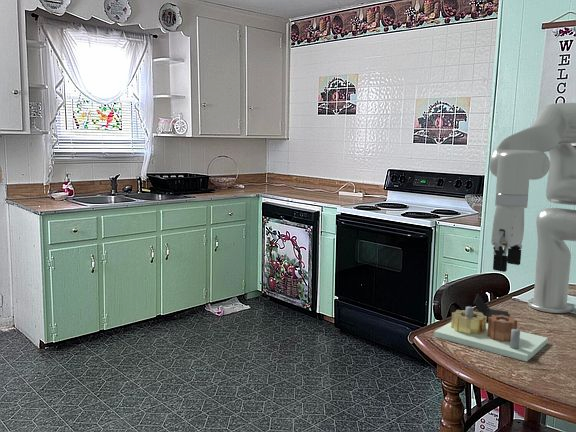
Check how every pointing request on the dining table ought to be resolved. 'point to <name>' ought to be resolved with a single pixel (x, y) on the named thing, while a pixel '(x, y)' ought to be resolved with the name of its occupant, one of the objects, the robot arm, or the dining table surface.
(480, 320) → the brass gear
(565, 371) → the dining table surface
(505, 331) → the rust gear
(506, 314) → the dark grey angled bracket
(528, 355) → the gear board
